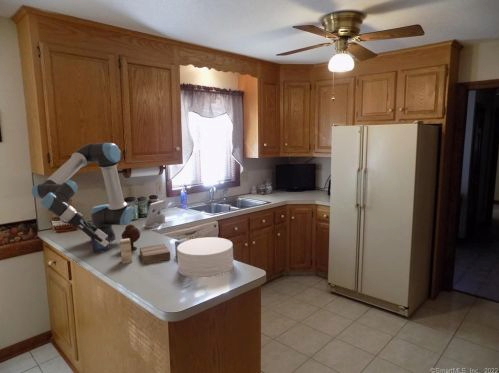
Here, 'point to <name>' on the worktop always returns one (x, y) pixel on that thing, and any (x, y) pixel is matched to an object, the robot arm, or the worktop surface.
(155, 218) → the phone holder
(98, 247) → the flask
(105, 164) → the robot arm
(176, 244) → the medicine box
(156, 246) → the board
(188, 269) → the plate stack
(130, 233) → the ice cream bowl
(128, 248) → the maple block
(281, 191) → the worktop surface
